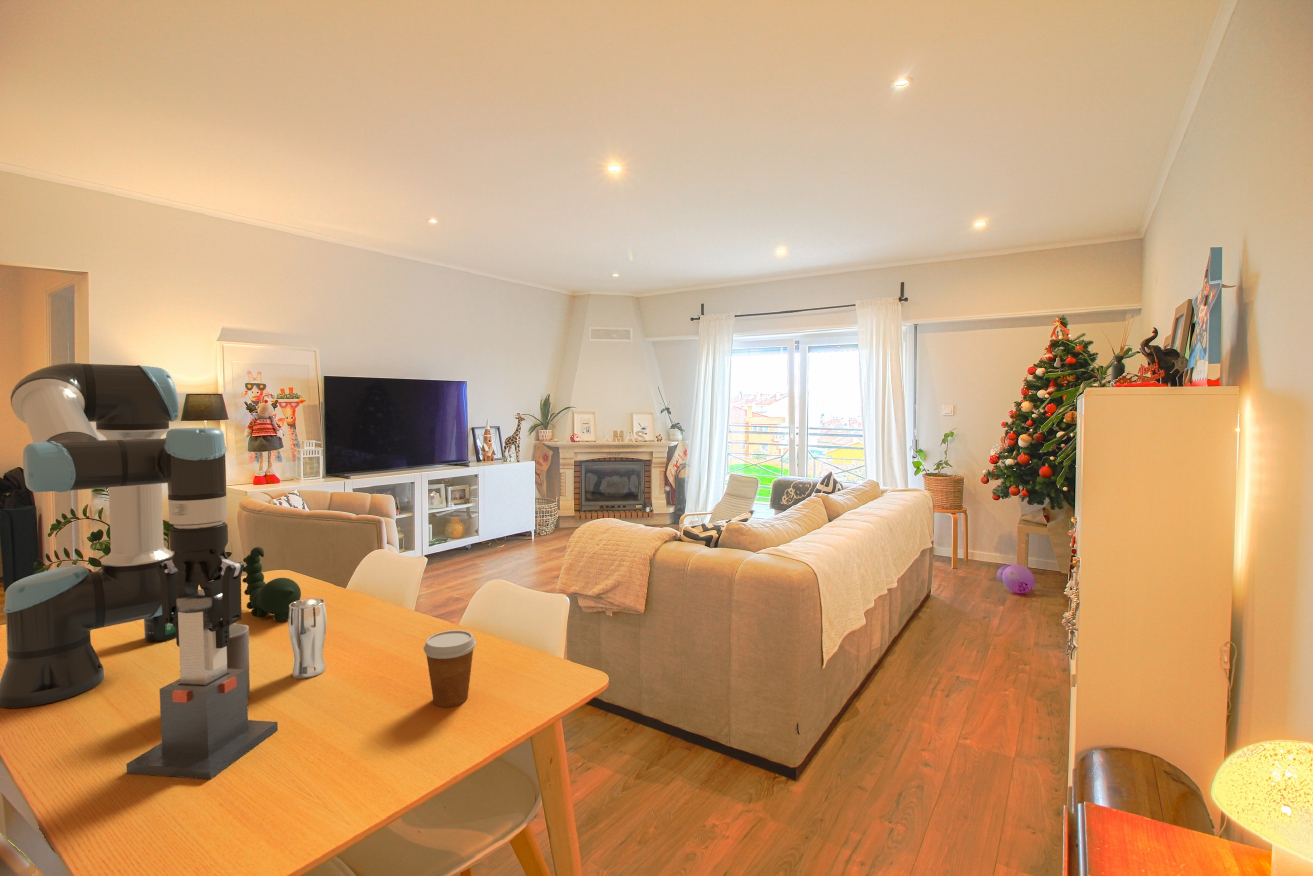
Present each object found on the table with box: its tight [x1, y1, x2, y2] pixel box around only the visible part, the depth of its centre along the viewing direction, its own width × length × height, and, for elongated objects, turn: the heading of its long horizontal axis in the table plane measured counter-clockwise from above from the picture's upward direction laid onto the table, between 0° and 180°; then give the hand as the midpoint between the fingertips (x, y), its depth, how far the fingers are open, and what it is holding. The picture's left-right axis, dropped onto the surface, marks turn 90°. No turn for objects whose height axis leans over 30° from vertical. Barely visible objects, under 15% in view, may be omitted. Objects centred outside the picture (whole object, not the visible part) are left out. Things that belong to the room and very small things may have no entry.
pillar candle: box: [227, 623, 251, 701], centre depth 115 cm, size 10×10×15 cm
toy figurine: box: [241, 546, 302, 623], centre depth 162 cm, size 9×19×25 cm
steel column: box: [176, 588, 227, 687], centre depth 98 cm, size 6×6×24 cm
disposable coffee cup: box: [423, 629, 477, 708], centre depth 116 cm, size 10×10×12 cm
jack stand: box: [126, 668, 279, 780], centre depth 99 cm, size 14×14×12 cm
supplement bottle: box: [143, 612, 176, 643], centre depth 147 cm, size 7×7×12 cm
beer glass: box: [287, 597, 328, 680], centre depth 128 cm, size 7×7×15 cm
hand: (203, 665), depth 98 cm, fingers closed on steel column, 4 cm apart
